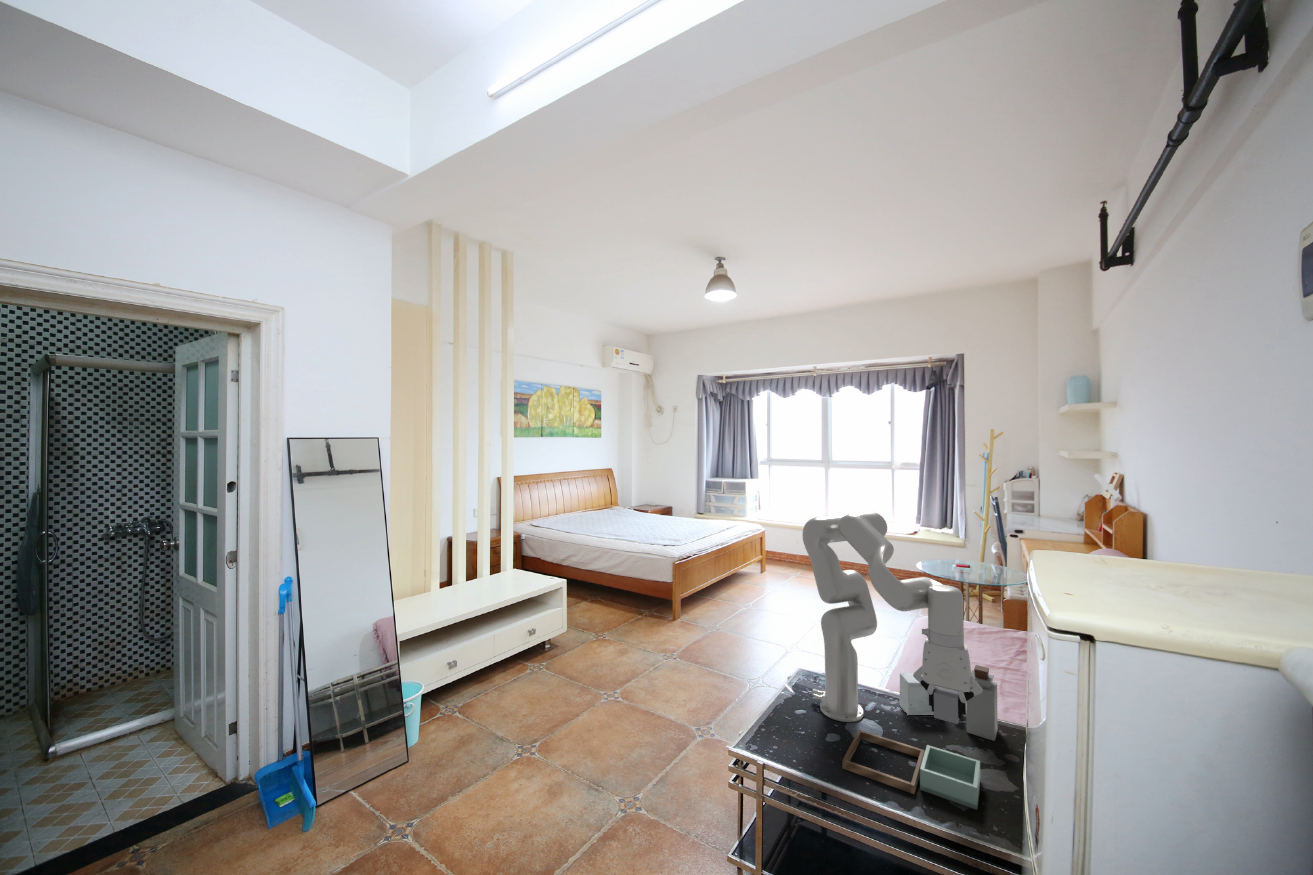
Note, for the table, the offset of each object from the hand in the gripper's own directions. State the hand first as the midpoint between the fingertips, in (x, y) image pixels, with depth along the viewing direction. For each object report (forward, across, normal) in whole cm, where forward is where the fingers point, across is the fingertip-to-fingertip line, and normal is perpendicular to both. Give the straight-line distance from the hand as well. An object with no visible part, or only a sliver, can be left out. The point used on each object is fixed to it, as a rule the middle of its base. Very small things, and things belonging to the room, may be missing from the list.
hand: (947, 712), depth 123 cm
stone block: (+1, 0, 0) cm, 1 cm away
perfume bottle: (+18, +5, +31) cm, 36 cm away
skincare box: (+18, -11, +33) cm, 39 cm away
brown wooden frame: (+18, -15, 0) cm, 23 cm away
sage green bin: (+18, 0, 0) cm, 18 cm away
